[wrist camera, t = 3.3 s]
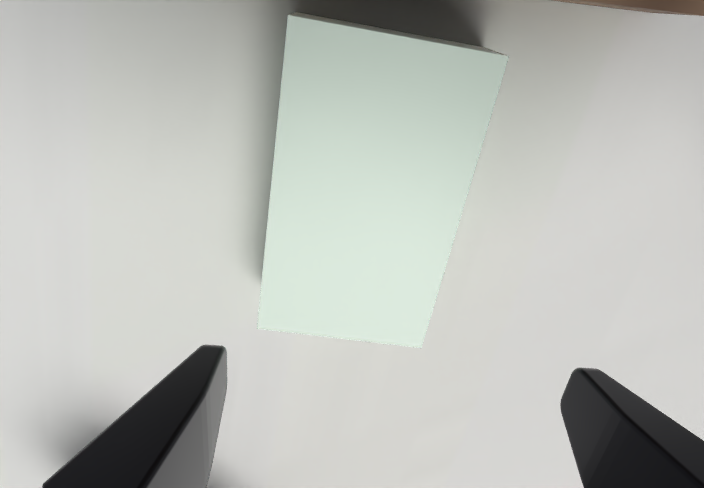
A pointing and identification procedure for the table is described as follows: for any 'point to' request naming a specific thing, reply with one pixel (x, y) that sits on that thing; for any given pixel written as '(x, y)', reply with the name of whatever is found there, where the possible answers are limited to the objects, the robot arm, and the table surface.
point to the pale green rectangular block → (370, 177)
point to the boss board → (650, 5)
